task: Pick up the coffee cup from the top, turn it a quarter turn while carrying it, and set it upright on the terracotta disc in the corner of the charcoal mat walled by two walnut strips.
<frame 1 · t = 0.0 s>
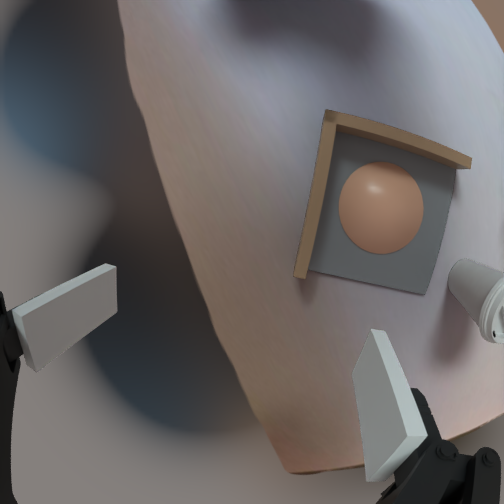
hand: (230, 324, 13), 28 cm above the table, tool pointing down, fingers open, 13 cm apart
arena: (386, 216, 36), on the table
coffee cup: (462, 277, 36), on the table
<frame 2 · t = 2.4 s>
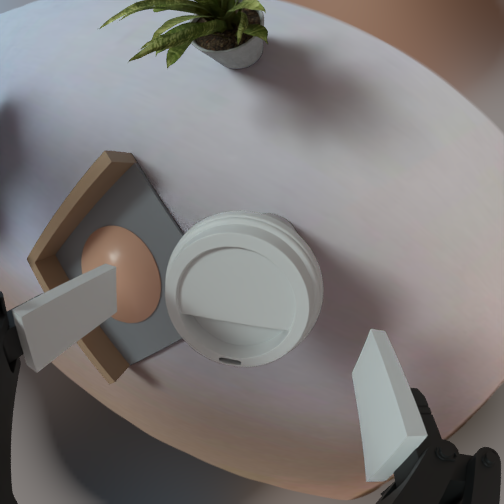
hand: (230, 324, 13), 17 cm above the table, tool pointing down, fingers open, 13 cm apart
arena: (128, 277, 33), on the table
house plant: (233, 42, 24), on the table
coffee cup: (267, 244, 29), on the table
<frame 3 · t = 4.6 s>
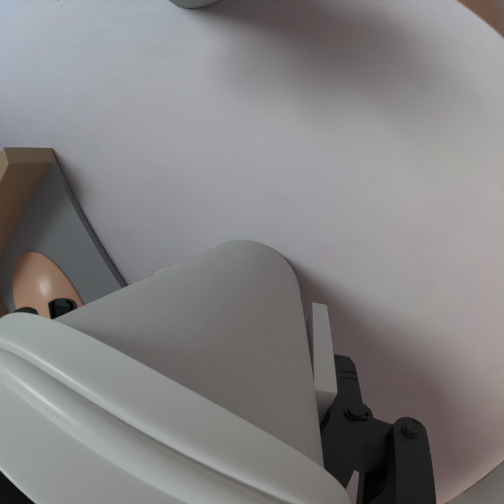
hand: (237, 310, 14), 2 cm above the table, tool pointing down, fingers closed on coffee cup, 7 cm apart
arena: (61, 321, 21), on the table
coffee cup: (245, 293, 17), on the table, touching gripper
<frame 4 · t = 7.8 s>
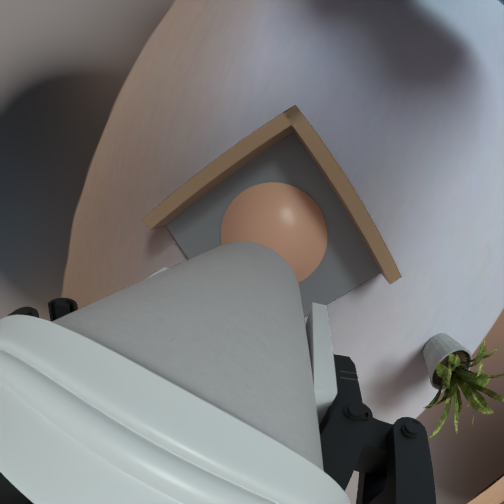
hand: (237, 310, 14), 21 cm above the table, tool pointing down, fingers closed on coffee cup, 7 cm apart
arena: (271, 246, 35), on the table
house plant: (443, 343, 33), on the table
coffee cup: (245, 293, 17), point 18 cm above the table, touching gripper
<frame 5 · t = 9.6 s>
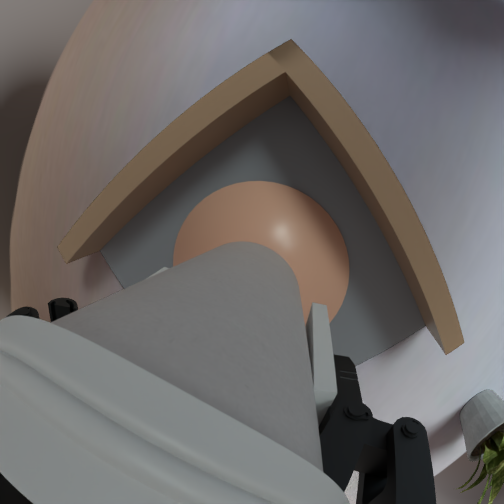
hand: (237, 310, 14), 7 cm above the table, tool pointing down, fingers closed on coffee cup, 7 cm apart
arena: (255, 288, 21), on the table
house plant: (485, 399, 20), on the table
coffee cup: (245, 293, 17), point 4 cm above the table, touching gripper
when the fingers open (3 cm above the table, at t = 11.0 s): coffee cup stays where it is, resting on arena.
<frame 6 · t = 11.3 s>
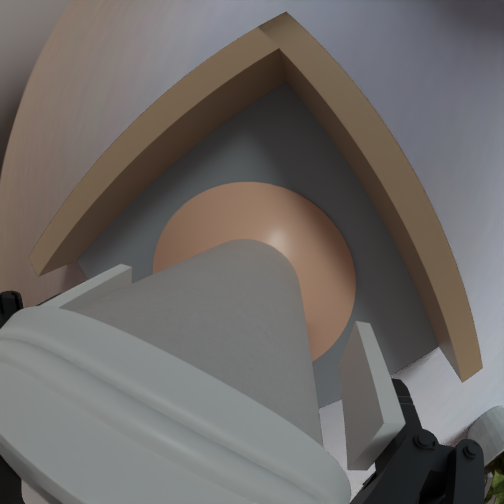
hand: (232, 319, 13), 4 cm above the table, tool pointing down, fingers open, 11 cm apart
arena: (246, 306, 18), on the table
house plant: (494, 415, 17), on the table
coffee cup: (246, 290, 17), point 1 cm above the table, touching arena
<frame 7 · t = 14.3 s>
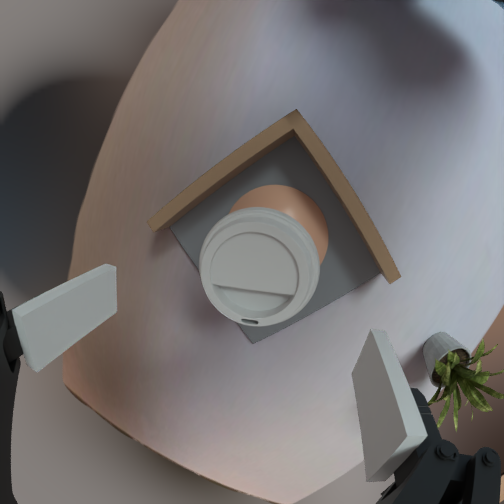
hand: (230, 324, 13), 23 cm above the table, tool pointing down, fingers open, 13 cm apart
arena: (273, 247, 35), on the table
house plant: (443, 341, 34), on the table
coffee cup: (274, 237, 34), point 1 cm above the table, touching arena
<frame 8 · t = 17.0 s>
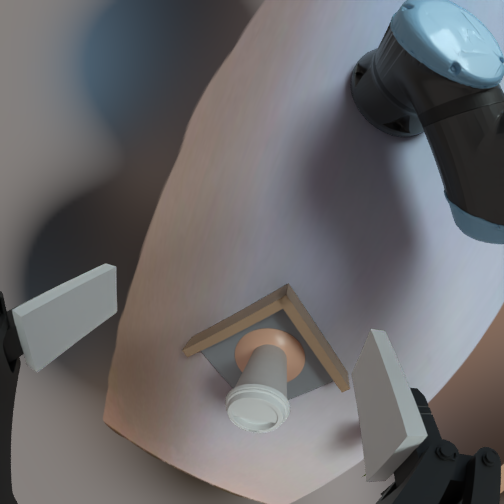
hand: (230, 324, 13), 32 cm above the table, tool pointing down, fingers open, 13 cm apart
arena: (268, 362, 50), on the table
coffee cup: (269, 358, 49), point 1 cm above the table, touching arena
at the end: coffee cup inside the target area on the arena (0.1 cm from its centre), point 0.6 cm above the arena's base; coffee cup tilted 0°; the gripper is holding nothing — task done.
